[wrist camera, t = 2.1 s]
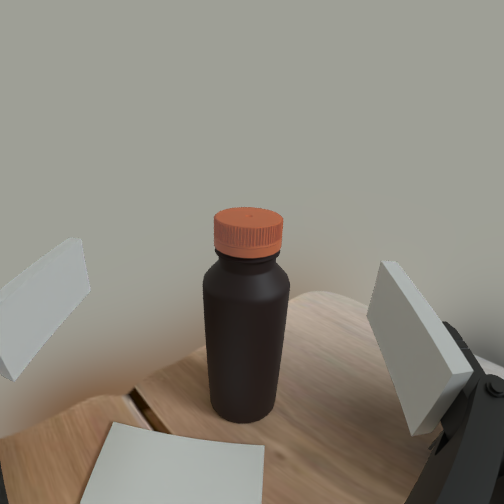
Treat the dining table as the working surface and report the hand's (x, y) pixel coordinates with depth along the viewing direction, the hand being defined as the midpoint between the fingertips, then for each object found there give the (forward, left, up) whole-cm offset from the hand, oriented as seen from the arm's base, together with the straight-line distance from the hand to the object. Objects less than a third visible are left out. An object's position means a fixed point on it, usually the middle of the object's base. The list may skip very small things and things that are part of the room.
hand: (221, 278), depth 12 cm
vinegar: (0, -10, -21) cm, 23 cm away
